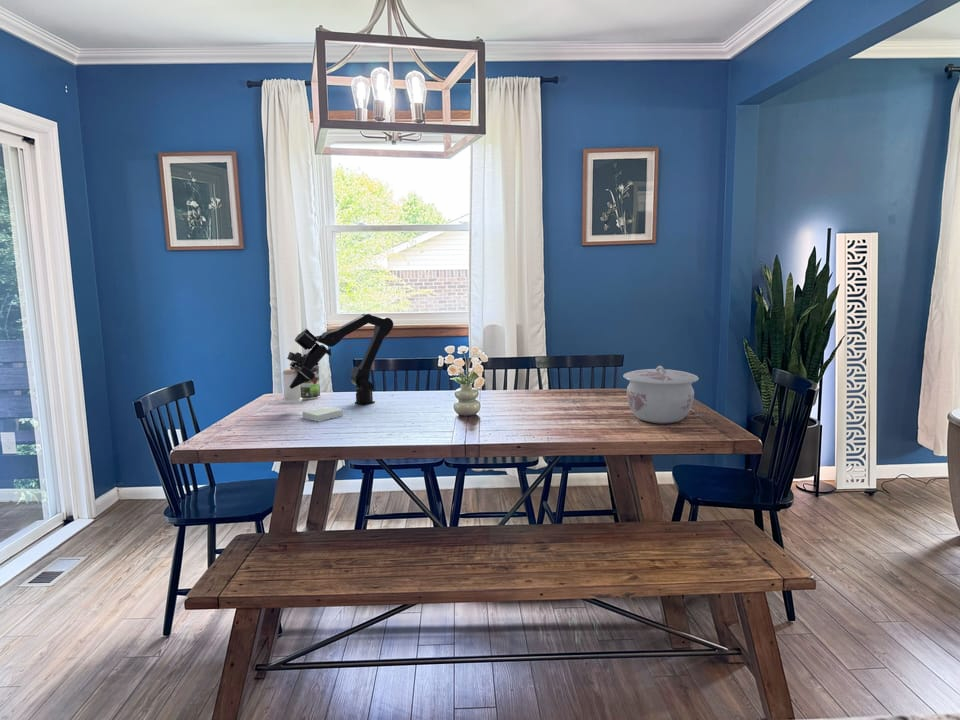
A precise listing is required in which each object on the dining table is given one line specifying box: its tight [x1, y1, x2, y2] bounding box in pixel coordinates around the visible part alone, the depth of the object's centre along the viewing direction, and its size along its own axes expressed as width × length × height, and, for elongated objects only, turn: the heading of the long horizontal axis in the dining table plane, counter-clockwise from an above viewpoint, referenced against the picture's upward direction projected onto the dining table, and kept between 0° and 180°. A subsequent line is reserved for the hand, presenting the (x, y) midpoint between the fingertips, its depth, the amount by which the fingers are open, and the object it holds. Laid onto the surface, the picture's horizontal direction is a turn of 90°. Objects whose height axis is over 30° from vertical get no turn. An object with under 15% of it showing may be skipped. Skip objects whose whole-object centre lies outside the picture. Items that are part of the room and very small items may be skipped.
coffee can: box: [300, 365, 321, 401], centre depth 288 cm, size 10×10×14 cm
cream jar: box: [282, 368, 303, 405], centre depth 258 cm, size 7×7×13 cm
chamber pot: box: [622, 365, 699, 425], centre depth 239 cm, size 28×28×21 cm
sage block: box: [301, 405, 344, 422], centre depth 252 cm, size 12×10×2 cm
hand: (288, 386), depth 258 cm, fingers closed on cream jar, 7 cm apart
